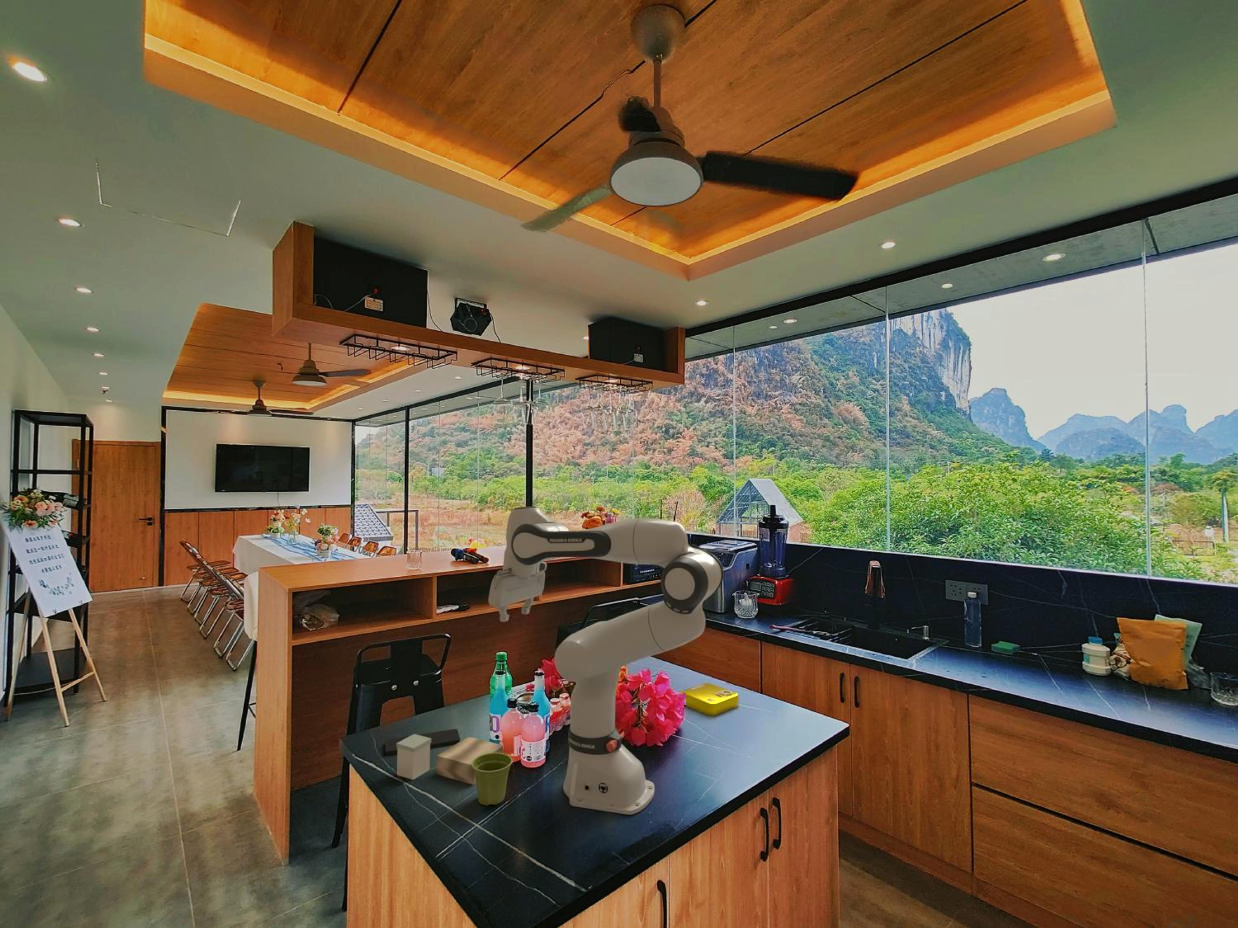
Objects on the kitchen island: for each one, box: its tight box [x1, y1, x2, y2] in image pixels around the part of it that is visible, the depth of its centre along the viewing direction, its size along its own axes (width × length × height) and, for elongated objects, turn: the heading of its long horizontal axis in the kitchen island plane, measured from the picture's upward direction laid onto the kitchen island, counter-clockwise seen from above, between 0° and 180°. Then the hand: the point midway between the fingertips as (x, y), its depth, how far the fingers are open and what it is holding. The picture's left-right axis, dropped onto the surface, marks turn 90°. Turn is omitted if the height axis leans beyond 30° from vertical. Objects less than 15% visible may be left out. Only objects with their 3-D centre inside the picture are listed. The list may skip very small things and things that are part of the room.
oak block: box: [436, 736, 505, 786], centre depth 146 cm, size 12×12×5 cm
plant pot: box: [472, 753, 513, 806], centre depth 132 cm, size 9×9×9 cm
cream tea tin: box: [396, 733, 431, 780], centre depth 144 cm, size 6×6×8 cm
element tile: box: [680, 682, 739, 717], centre depth 190 cm, size 15×15×5 cm
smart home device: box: [384, 728, 461, 757], centre depth 160 cm, size 8×2×20 cm
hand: (514, 617), depth 149 cm, fingers open, 8 cm apart
